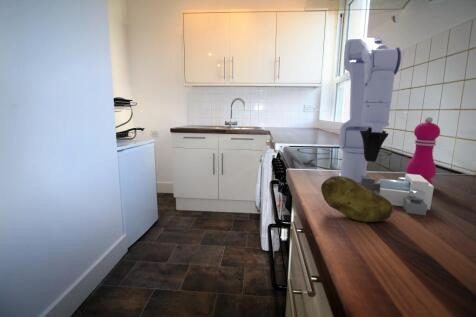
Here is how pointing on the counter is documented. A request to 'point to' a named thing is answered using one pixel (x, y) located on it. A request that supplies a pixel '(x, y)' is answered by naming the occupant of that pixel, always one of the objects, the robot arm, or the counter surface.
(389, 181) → the cartridge
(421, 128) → the pepper mill
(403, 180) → the plunger left
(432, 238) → the counter surface
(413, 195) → the plunger right
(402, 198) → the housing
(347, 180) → the potato
